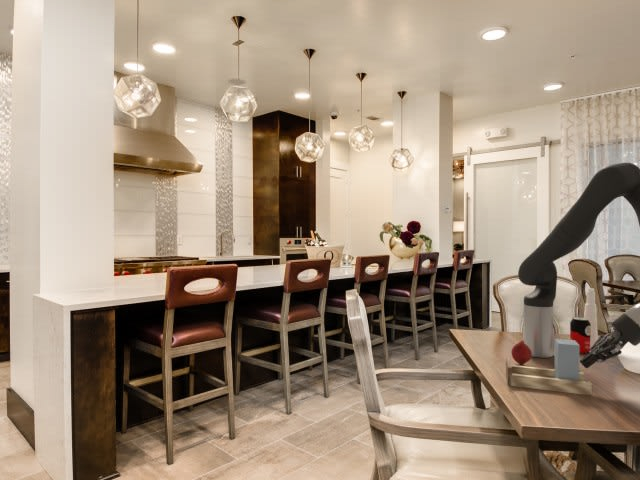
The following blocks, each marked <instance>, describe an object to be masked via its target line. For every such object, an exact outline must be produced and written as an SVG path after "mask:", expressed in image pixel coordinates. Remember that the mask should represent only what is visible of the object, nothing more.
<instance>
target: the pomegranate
mask: <svg viewBox="0 0 640 480" xmlns="http://www.w3.org/2000/svg"><path fill="white" fill-rule="evenodd" d="M511 357H512V359H513V360H514V361H515V362H516V363H517V364H519V366H523V365H524V366H525V364H526V363H528V362H529V361H530V360H531V359H532V357H533V356H532V352H531V350H530V348H529V347H528V346H527V345H526V344H525V343H524V340H523V339H521V340H520V341H519V342H517V343H516V344H515V345H514V346H513V347H512V348H511Z"/></svg>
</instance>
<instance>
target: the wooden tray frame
mask: <svg viewBox="0 0 640 480" xmlns="http://www.w3.org/2000/svg"><path fill="white" fill-rule="evenodd" d="M505 377H506V379H505V380H506V385H507V386H509V387H519V388H525V389H526V388H527V389H534V390H542V391H543V390H544V391H549V392H550V391H551V392H558V393H559V392H560V393H568V394H576V395H583V396H584V395H585V396H592V393H593V391H592V389H593V388H592V387H593V386H592V385H593V384H592V382H591V381H585V373H584V371H579V381H576V380H567V379H558V378H554V368H544V367H536V366H525V365H524V366H523V365H515V364H512V362H511V358H510V357H505Z"/></svg>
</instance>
